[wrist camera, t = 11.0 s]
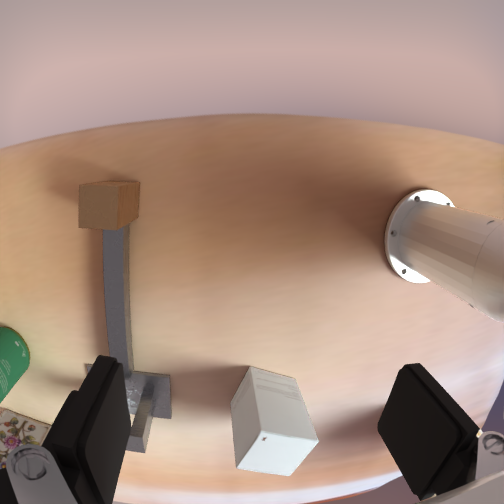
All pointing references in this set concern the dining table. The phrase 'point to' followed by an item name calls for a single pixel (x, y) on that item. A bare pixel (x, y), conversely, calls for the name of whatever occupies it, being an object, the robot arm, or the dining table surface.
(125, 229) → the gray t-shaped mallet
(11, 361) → the beverage can
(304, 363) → the dining table surface
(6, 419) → the decorative jar
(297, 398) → the supplement box
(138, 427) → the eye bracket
